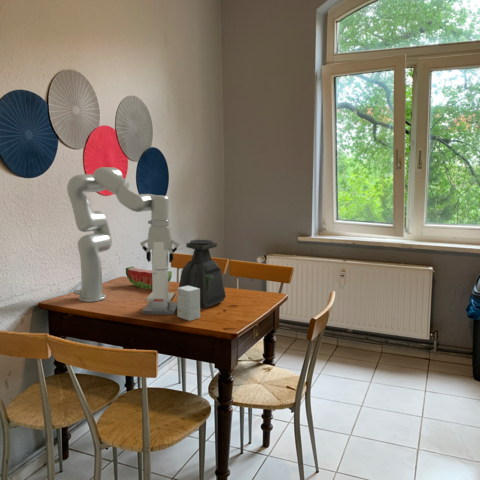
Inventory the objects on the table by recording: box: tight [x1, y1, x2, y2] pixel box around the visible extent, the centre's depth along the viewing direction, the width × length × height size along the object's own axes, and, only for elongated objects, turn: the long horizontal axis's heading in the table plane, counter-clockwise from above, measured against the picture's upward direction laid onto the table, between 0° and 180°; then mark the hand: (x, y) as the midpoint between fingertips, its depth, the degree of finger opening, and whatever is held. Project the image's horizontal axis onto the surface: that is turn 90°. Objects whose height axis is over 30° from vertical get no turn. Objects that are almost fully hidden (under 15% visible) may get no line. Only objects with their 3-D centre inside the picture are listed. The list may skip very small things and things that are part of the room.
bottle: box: [178, 239, 227, 310], centre depth 215 cm, size 18×16×30 cm
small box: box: [176, 286, 201, 322], centre depth 196 cm, size 8×6×13 cm
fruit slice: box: [125, 266, 173, 290], centre depth 245 cm, size 26×6×10 cm, turn 65°
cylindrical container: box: [151, 242, 170, 298], centre depth 205 cm, size 7×7×25 cm
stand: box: [141, 291, 177, 316], centre depth 207 cm, size 14×14×6 cm
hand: (159, 261), depth 204 cm, fingers open, 9 cm apart
